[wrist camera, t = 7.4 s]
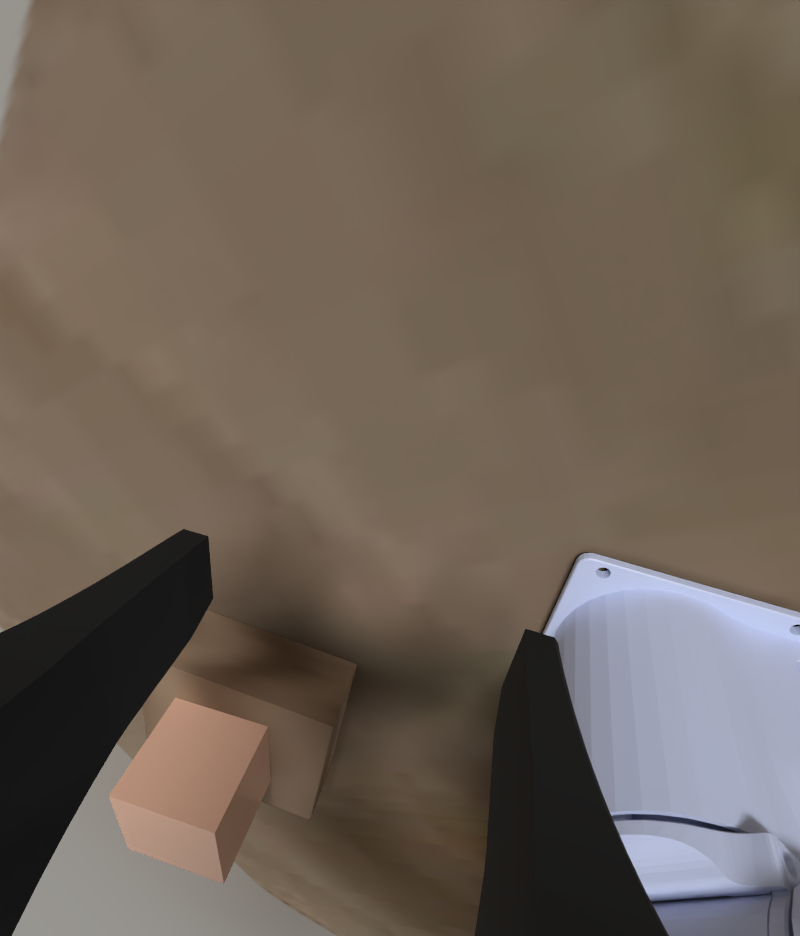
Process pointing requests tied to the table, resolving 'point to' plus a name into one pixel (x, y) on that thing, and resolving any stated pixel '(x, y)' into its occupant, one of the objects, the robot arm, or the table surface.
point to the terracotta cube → (194, 789)
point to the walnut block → (265, 699)
